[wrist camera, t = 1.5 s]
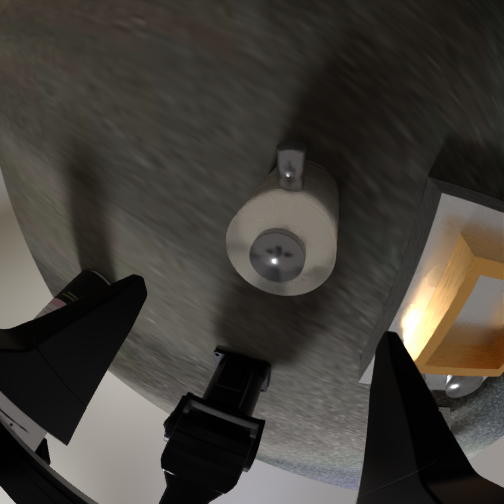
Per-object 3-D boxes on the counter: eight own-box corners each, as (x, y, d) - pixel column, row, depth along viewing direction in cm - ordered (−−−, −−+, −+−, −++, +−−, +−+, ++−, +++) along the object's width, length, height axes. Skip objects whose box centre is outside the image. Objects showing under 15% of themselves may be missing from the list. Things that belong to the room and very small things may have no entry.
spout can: (332, 235, 19) (323, 312, 13) (262, 223, 20) (223, 291, 14) (348, 132, 15) (355, 161, 9) (267, 122, 16) (218, 145, 10)
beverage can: (116, 316, 34) (52, 398, 22) (81, 286, 33) (13, 360, 21) (123, 290, 30) (44, 386, 18) (84, 257, 29) (0, 340, 17)
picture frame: (456, 383, 23) (461, 422, 19) (351, 373, 26) (346, 418, 22) (555, 224, 11) (588, 262, 7) (427, 176, 14) (457, 212, 10)
